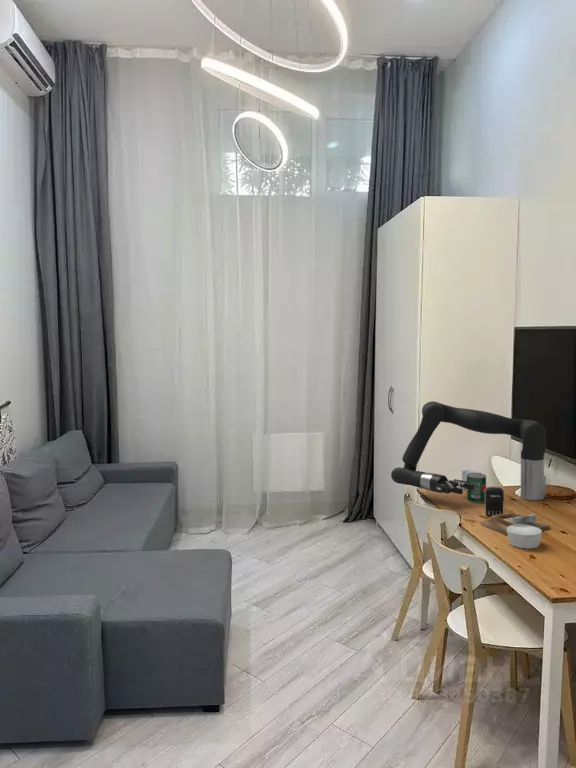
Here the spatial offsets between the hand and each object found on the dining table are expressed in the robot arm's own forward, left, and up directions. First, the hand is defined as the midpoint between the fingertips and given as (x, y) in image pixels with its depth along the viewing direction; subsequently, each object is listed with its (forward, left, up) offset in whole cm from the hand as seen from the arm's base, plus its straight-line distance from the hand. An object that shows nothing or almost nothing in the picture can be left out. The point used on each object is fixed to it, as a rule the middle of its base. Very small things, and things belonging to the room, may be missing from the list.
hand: (468, 489), depth 237 cm
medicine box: (-21, -23, -9) cm, 33 cm away
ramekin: (+8, +39, -9) cm, 40 cm away
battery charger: (-4, +11, -9) cm, 14 cm away
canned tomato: (-12, -9, -9) cm, 18 cm away
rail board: (-2, +24, -9) cm, 25 cm away
